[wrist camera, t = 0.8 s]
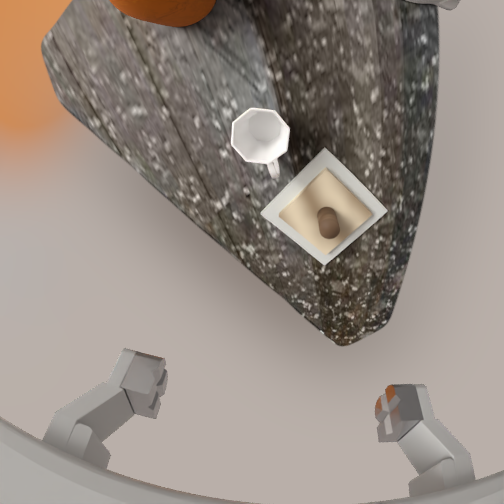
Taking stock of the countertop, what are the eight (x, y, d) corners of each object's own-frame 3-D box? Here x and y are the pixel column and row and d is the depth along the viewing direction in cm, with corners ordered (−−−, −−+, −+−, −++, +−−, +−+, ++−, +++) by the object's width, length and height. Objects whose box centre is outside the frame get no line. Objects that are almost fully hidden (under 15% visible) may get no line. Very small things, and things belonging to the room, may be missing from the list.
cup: (282, 94, 38) (281, 99, 31) (301, 161, 43) (304, 180, 36) (232, 108, 39) (220, 117, 33) (254, 172, 44) (248, 194, 38)
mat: (324, 147, 41) (325, 147, 41) (387, 209, 45) (387, 211, 44) (260, 212, 48) (260, 213, 47) (324, 263, 52) (324, 265, 51)
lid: (325, 166, 42) (330, 180, 37) (370, 211, 45) (379, 229, 40) (278, 213, 47) (277, 231, 42) (324, 251, 50) (328, 272, 45)
